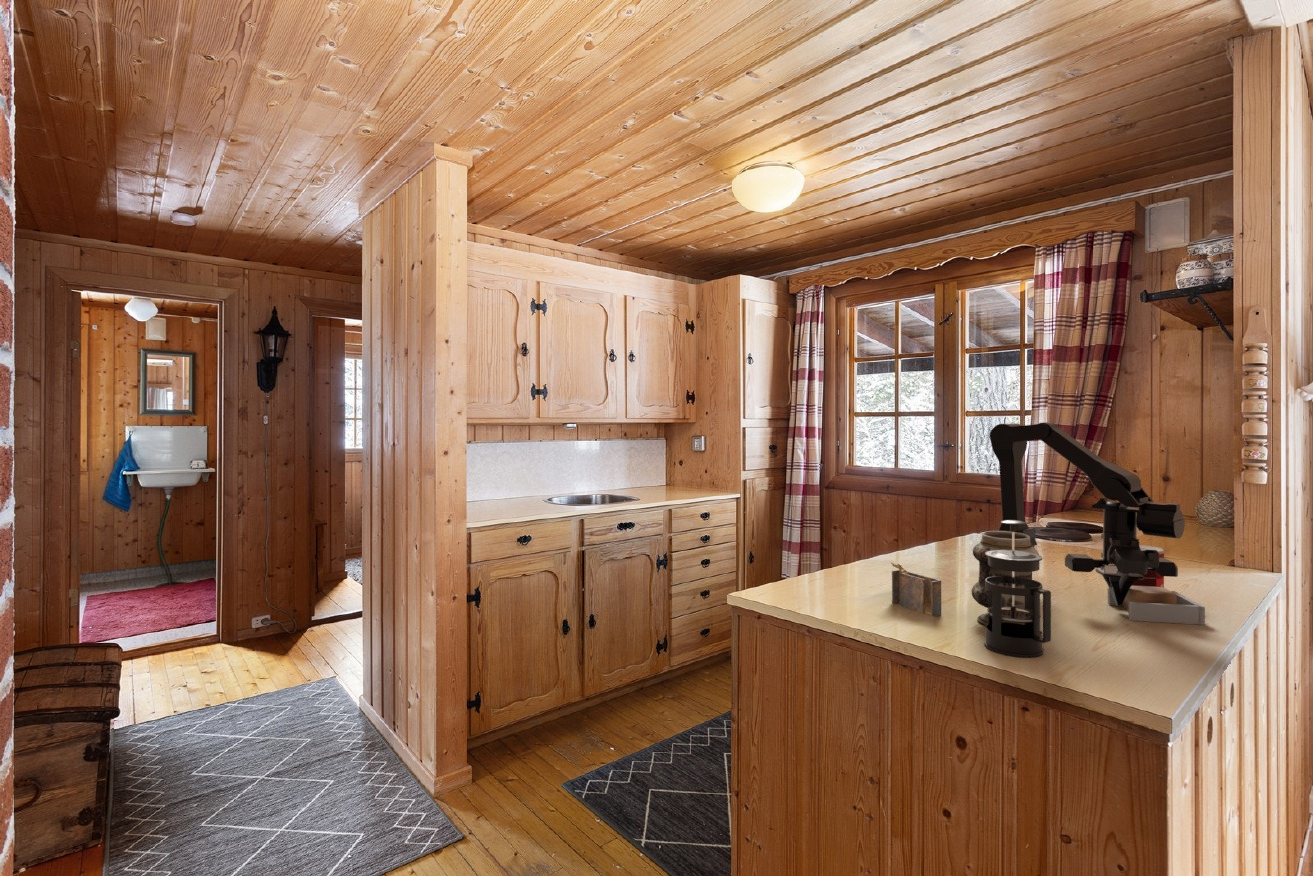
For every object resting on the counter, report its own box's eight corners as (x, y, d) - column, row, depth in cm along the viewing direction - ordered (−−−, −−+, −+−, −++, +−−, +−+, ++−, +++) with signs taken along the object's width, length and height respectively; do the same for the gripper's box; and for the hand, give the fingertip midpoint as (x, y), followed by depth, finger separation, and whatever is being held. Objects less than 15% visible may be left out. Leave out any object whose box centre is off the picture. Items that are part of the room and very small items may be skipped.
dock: (1130, 620, 131) (1130, 603, 131) (1107, 603, 142) (1107, 588, 142) (1204, 624, 127) (1205, 607, 127) (1174, 607, 139) (1175, 591, 139)
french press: (969, 643, 119) (968, 518, 119) (1004, 635, 123) (1003, 514, 123) (1029, 664, 109) (1029, 528, 108) (1065, 655, 113) (1065, 523, 112)
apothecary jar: (1014, 637, 122) (1014, 542, 122) (958, 619, 133) (958, 532, 132) (1052, 626, 128) (1053, 535, 127) (996, 611, 138) (996, 527, 138)
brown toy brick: (1137, 617, 133) (1137, 593, 132) (1123, 607, 139) (1123, 584, 139) (1178, 620, 131) (1178, 595, 130) (1161, 609, 137) (1161, 586, 137)
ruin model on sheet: (890, 605, 146) (890, 562, 146) (900, 603, 147) (900, 560, 147) (930, 618, 136) (930, 572, 135) (941, 616, 137) (941, 570, 137)
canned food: (1149, 591, 152) (1149, 544, 151) (1172, 600, 144) (1173, 551, 144) (1114, 591, 153) (1114, 544, 152) (1136, 600, 145) (1136, 551, 144)
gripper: (1081, 536, 131) (1081, 613, 131) (1192, 540, 126) (1190, 620, 126) (1064, 527, 142) (1063, 598, 142) (1165, 531, 136) (1164, 604, 137)
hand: (1118, 605), depth 136 cm, fingers closed
